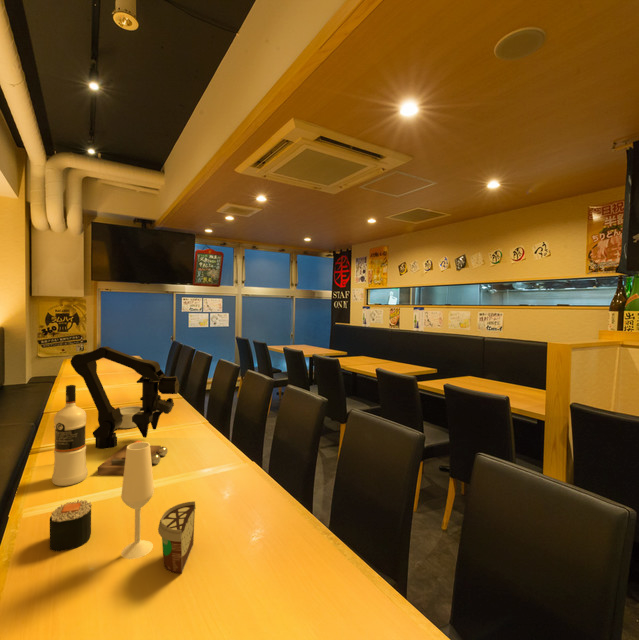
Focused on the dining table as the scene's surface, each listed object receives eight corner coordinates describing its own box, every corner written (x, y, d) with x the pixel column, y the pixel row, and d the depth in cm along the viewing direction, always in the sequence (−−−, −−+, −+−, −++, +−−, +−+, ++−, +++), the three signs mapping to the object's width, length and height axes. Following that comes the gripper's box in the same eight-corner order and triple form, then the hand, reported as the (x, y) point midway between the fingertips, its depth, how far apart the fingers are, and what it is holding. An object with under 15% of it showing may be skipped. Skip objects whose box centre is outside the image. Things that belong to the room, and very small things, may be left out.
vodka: (94, 476, 119) (95, 383, 118) (67, 489, 110) (67, 389, 109) (72, 471, 122) (73, 381, 121) (44, 484, 113) (44, 386, 112)
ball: (130, 451, 133) (131, 442, 133) (135, 448, 136) (135, 439, 136) (140, 451, 133) (140, 442, 133) (144, 448, 137) (144, 439, 136)
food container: (168, 542, 87) (168, 500, 87) (195, 541, 88) (195, 500, 88) (148, 580, 75) (149, 532, 75) (179, 579, 76) (180, 531, 75)
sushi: (45, 555, 82) (46, 519, 81) (55, 533, 89) (55, 501, 89) (88, 546, 85) (88, 512, 85) (94, 526, 93) (94, 495, 92)
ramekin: (116, 431, 160) (116, 415, 160) (109, 423, 170) (109, 408, 170) (148, 425, 169) (148, 410, 169) (140, 418, 179) (140, 404, 179)
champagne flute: (130, 539, 88) (131, 439, 87) (158, 541, 88) (160, 441, 87) (114, 559, 81) (115, 451, 80) (144, 560, 81) (145, 452, 80)
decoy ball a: (156, 457, 134) (156, 448, 134) (159, 454, 138) (159, 445, 138) (165, 457, 135) (165, 448, 134) (168, 454, 138) (169, 445, 138)
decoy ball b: (148, 466, 127) (148, 456, 127) (152, 461, 131) (152, 452, 131) (158, 466, 128) (158, 456, 128) (161, 462, 131) (162, 452, 131)
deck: (97, 474, 120) (97, 462, 120) (125, 451, 139) (125, 441, 139) (138, 475, 121) (138, 462, 121) (160, 452, 140) (160, 441, 139)
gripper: (162, 400, 136) (162, 442, 136) (179, 388, 154) (178, 425, 155) (131, 399, 135) (131, 441, 136) (151, 388, 154) (151, 425, 154)
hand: (149, 433), depth 145 cm, fingers open, 9 cm apart
